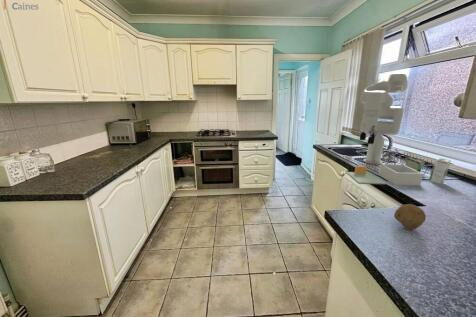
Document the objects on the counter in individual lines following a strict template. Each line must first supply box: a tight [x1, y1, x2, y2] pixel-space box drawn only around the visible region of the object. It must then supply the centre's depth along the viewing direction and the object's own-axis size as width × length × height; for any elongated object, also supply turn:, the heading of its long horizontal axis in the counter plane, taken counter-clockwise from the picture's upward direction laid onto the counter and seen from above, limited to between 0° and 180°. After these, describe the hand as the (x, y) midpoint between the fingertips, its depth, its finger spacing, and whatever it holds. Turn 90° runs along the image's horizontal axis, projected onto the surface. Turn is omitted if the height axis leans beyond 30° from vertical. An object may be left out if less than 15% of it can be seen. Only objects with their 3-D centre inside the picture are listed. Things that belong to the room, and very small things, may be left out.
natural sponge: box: [394, 203, 427, 230], centre depth 81 cm, size 9×9×10 cm
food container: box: [404, 156, 426, 172], centre depth 137 cm, size 12×6×10 cm, turn 179°
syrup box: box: [428, 157, 452, 185], centre depth 122 cm, size 6×6×14 cm
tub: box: [378, 163, 424, 186], centre depth 126 cm, size 16×14×8 cm
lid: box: [345, 165, 387, 185], centre depth 128 cm, size 17×15×7 cm
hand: (366, 141), depth 128 cm, fingers open, 9 cm apart
